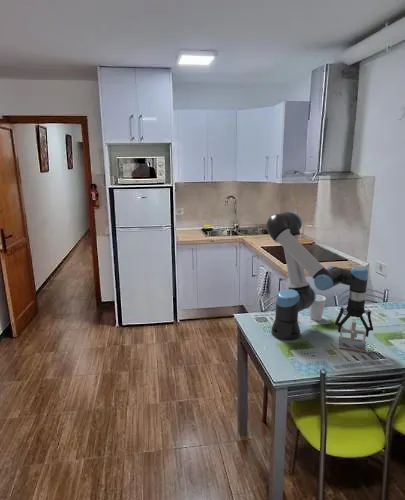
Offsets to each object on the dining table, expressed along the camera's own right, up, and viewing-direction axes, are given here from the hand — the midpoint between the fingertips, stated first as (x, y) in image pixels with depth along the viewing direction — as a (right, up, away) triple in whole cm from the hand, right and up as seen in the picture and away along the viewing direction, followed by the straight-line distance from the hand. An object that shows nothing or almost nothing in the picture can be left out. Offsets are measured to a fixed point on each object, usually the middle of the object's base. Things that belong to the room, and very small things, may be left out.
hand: (352, 340), depth 177 cm
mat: (0, -3, +1) cm, 3 cm away
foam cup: (-8, +5, +32) cm, 33 cm away
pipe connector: (0, 0, 0) cm, 0 cm away
